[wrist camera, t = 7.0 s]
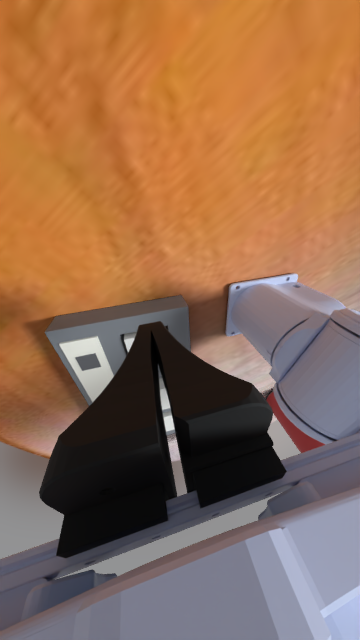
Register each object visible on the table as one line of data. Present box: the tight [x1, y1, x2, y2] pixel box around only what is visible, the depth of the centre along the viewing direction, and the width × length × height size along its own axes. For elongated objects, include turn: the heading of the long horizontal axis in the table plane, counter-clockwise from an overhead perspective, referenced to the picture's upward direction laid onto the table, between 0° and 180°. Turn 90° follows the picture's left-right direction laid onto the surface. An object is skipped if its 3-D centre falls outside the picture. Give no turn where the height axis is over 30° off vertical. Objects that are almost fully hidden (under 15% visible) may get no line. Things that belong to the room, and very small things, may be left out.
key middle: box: [159, 378, 170, 410], centre depth 25 cm, size 4×4×3 cm
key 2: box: [163, 411, 175, 432], centre depth 30 cm, size 4×4×3 cm
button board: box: [45, 295, 191, 435], centre depth 26 cm, size 14×25×3 cm, turn 5°
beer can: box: [266, 391, 325, 453], centre depth 34 cm, size 7×7×12 cm
